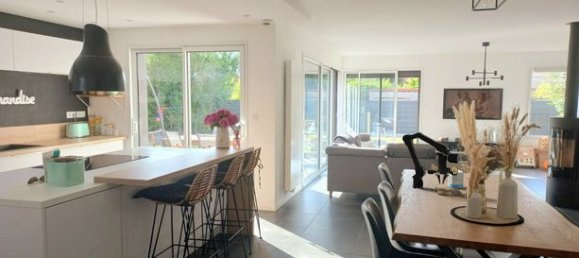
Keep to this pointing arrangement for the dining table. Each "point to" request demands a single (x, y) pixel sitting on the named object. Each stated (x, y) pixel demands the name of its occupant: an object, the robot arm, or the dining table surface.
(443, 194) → the plank front
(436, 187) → the plank rear
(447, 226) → the dining table surface
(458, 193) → the tan wooden tile
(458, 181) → the ink box
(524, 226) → the dining table surface
